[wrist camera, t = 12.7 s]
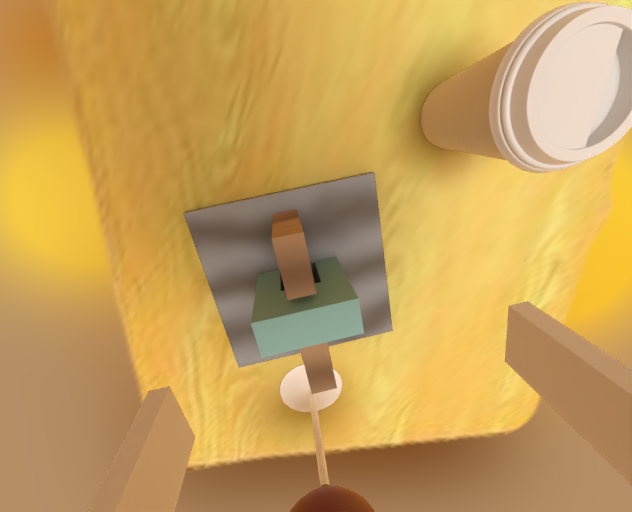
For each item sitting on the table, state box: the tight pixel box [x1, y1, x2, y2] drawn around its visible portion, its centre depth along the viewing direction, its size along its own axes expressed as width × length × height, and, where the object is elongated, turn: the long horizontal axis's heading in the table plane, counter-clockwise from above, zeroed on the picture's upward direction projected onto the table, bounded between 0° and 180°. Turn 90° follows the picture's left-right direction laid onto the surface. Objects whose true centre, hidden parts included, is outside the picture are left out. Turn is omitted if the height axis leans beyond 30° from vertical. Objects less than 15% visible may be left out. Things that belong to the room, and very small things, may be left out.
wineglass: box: [280, 364, 374, 512], centre depth 31 cm, size 9×10×23 cm
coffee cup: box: [421, 2, 632, 173], centre depth 24 cm, size 10×10×15 cm
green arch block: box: [251, 257, 364, 358], centre depth 30 cm, size 4×9×10 cm, turn 101°
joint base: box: [184, 172, 393, 394], centre depth 31 cm, size 20×20×10 cm
